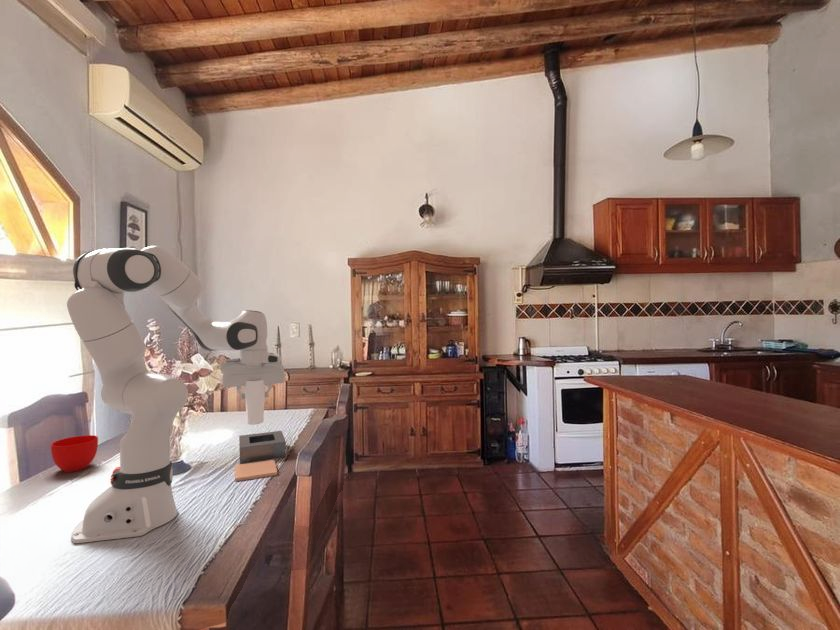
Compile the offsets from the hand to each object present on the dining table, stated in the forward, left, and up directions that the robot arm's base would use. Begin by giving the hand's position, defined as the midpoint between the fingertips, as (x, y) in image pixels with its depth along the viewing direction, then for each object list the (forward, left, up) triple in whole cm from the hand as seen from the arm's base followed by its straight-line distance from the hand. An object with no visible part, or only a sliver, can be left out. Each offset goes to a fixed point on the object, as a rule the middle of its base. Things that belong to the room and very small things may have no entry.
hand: (254, 397), depth 145 cm
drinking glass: (0, 0, -9) cm, 9 cm away
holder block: (+3, +18, -25) cm, 31 cm away
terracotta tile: (0, 0, -25) cm, 25 cm away
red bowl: (-58, +32, -26) cm, 71 cm away
